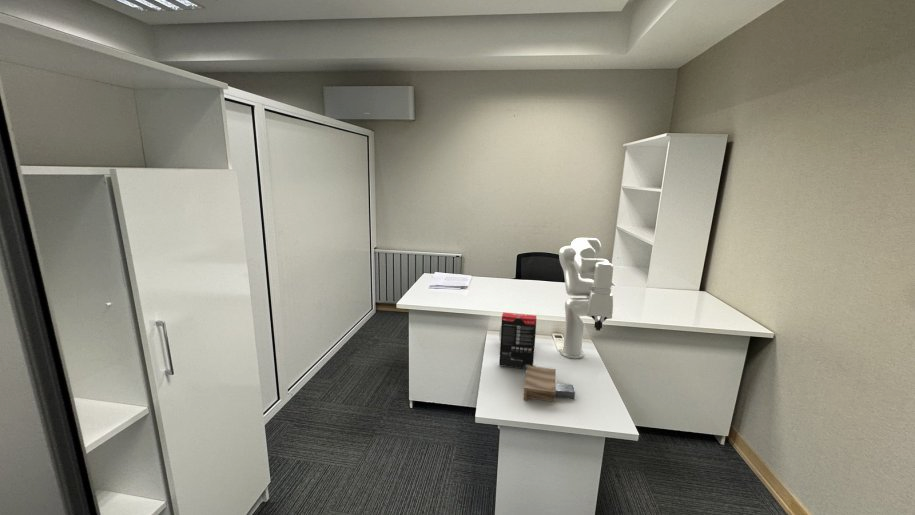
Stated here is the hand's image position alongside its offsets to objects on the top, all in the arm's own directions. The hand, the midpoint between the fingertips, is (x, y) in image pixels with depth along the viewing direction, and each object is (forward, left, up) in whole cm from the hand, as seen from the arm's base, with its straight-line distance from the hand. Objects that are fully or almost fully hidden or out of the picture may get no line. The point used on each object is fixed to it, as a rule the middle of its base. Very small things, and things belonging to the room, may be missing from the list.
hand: (597, 329), depth 168 cm
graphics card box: (-8, -36, -27) cm, 46 cm away
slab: (+13, -17, -27) cm, 35 cm away
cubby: (+12, -24, -27) cm, 38 cm away
